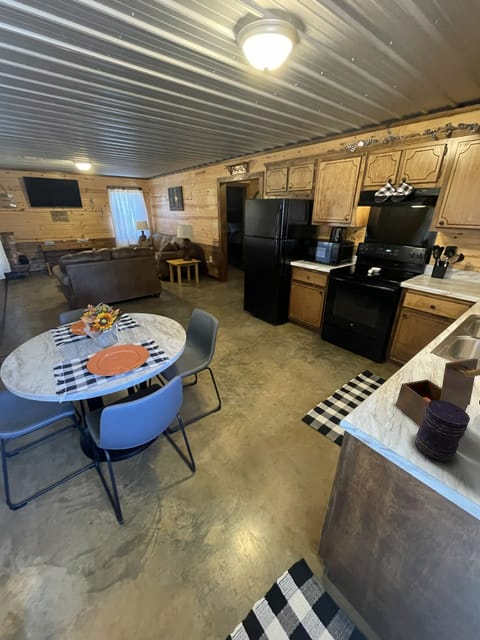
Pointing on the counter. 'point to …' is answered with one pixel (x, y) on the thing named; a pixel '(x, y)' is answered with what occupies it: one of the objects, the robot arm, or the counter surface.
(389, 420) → the counter surface
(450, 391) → the lid
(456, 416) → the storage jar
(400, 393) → the chest
